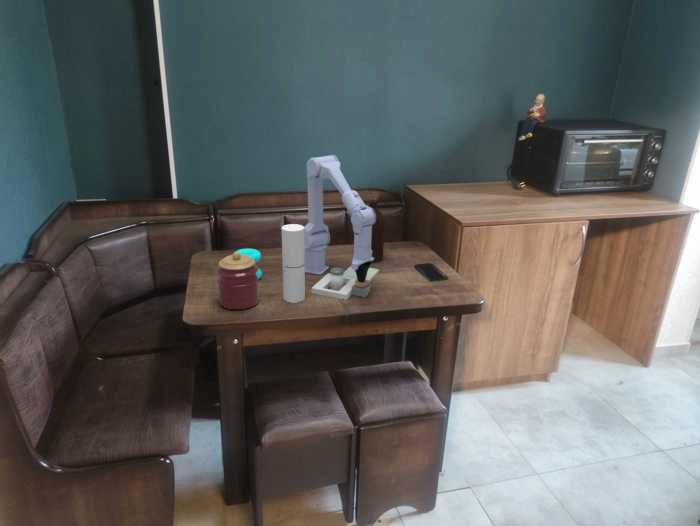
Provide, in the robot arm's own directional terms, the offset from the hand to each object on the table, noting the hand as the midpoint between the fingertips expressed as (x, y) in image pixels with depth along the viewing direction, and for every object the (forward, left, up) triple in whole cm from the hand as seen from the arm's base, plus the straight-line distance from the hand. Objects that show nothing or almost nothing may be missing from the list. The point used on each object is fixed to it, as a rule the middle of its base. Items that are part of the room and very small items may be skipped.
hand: (361, 281), depth 181 cm
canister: (-34, -23, -5) cm, 41 cm away
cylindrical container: (-19, -13, -5) cm, 23 cm away
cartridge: (-9, 0, -4) cm, 10 cm away
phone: (+17, +28, -5) cm, 33 cm away
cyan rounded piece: (-42, -5, -5) cm, 43 cm away
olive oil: (-8, +32, -5) cm, 33 cm away
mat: (-6, +15, -4) cm, 17 cm away
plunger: (0, 0, -4) cm, 4 cm away
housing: (-7, 0, -4) cm, 8 cm away
